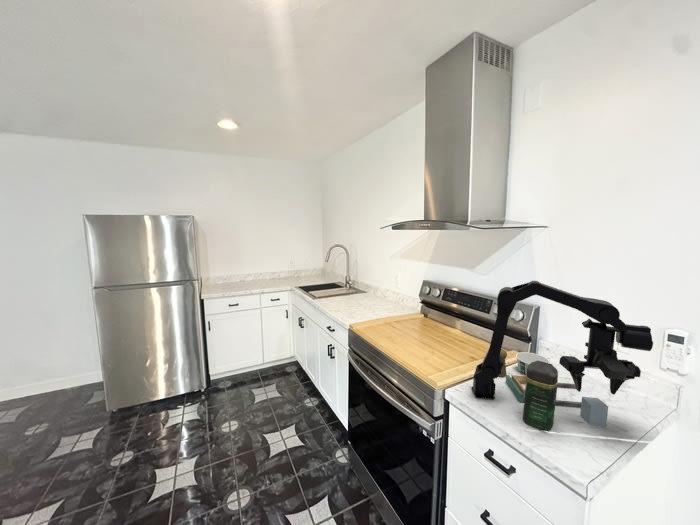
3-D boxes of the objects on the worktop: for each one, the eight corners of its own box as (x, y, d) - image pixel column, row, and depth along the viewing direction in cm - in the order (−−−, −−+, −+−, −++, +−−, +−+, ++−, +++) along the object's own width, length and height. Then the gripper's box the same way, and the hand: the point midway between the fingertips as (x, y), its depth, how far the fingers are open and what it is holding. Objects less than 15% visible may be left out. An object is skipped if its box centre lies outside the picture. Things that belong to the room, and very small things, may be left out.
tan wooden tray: (522, 400, 100) (523, 389, 99) (510, 384, 110) (511, 374, 109) (554, 403, 98) (555, 391, 98) (540, 386, 108) (541, 376, 108)
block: (589, 426, 88) (591, 405, 87) (579, 417, 92) (582, 396, 91) (605, 428, 87) (608, 406, 86) (595, 418, 91) (598, 397, 91)
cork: (508, 379, 115) (510, 353, 113) (492, 378, 116) (493, 352, 114) (504, 372, 120) (505, 347, 119) (488, 371, 122) (489, 345, 120)
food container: (530, 364, 127) (531, 350, 126) (556, 378, 116) (557, 363, 115) (507, 368, 124) (508, 353, 123) (532, 382, 112) (533, 366, 112)
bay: (516, 406, 98) (516, 396, 97) (499, 381, 113) (500, 372, 113) (603, 414, 93) (604, 403, 93) (573, 387, 109) (574, 378, 109)
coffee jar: (551, 436, 84) (557, 375, 81) (520, 424, 89) (524, 367, 86) (555, 419, 91) (560, 363, 89) (525, 409, 96) (530, 356, 94)
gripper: (582, 352, 80) (577, 405, 82) (661, 357, 77) (653, 412, 79) (560, 337, 91) (556, 384, 93) (628, 341, 88) (622, 389, 90)
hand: (595, 392), depth 88 cm, fingers open, 9 cm apart
